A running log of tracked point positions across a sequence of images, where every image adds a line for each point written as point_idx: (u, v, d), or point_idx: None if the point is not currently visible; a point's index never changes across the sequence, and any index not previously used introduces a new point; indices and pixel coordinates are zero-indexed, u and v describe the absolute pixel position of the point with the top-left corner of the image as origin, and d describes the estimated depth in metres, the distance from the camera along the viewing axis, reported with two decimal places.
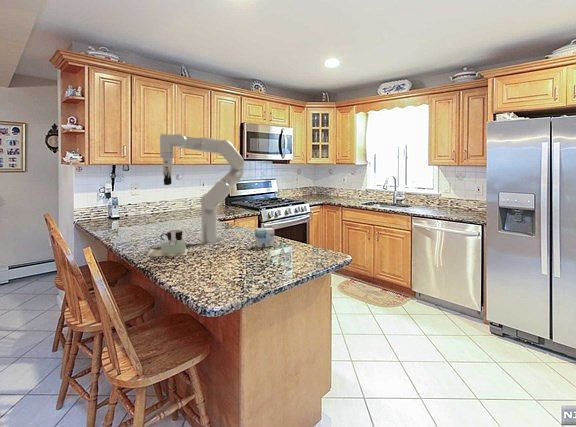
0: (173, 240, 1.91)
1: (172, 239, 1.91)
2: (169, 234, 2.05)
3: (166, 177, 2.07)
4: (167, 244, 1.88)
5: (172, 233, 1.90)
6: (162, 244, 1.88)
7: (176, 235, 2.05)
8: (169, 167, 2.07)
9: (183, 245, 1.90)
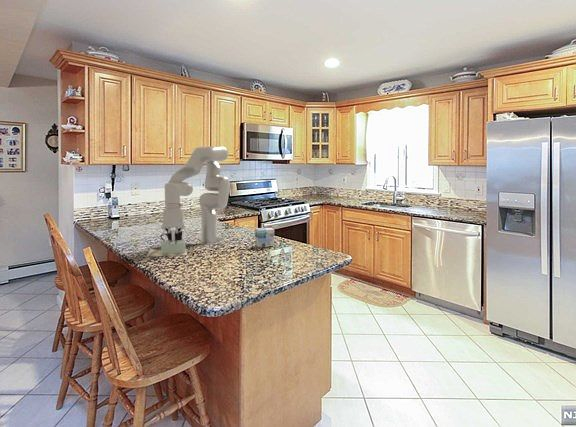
0: (173, 239, 1.91)
1: (172, 238, 1.91)
2: None
3: (177, 232, 1.92)
4: (167, 244, 1.88)
5: (172, 232, 1.90)
6: (162, 244, 1.88)
7: None
8: None
9: (183, 245, 1.90)
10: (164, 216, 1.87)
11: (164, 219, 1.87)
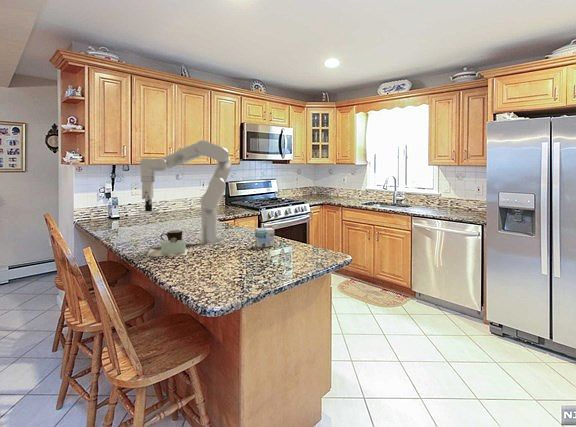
0: None
1: None
2: (169, 234, 2.05)
3: None
4: (167, 244, 1.88)
5: (150, 203, 2.10)
6: (162, 244, 1.88)
7: (176, 235, 2.05)
8: None
9: (183, 245, 1.90)
10: (150, 189, 2.06)
11: (150, 191, 2.06)
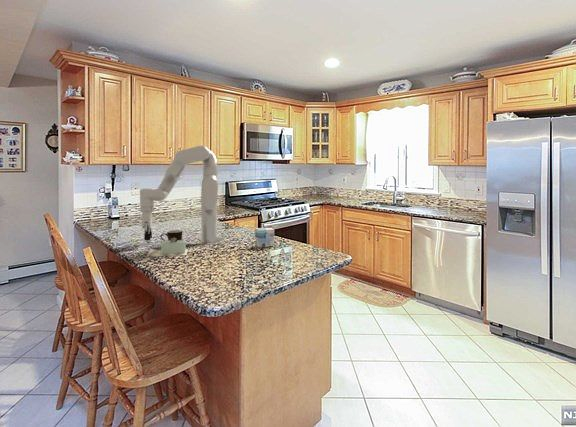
0: (150, 242, 2.15)
1: (150, 242, 2.15)
2: (169, 234, 2.05)
3: None
4: (167, 244, 1.88)
5: None
6: (162, 244, 1.88)
7: (176, 235, 2.05)
8: None
9: (183, 245, 1.90)
10: (150, 218, 2.10)
11: (150, 221, 2.10)
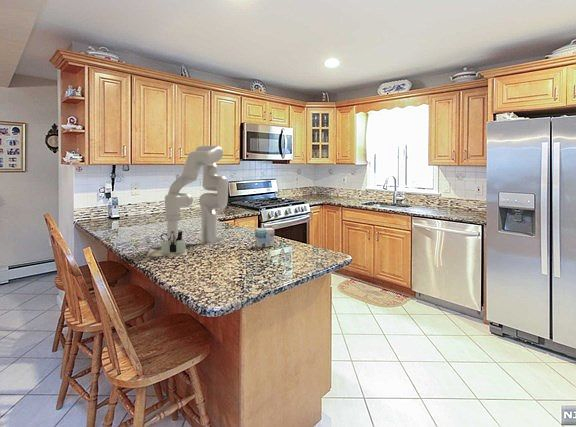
0: (150, 242, 2.15)
1: (150, 242, 2.15)
2: None
3: None
4: (167, 244, 1.88)
5: None
6: (162, 244, 1.88)
7: None
8: None
9: (183, 245, 1.90)
10: (176, 228, 1.87)
11: (176, 231, 1.88)
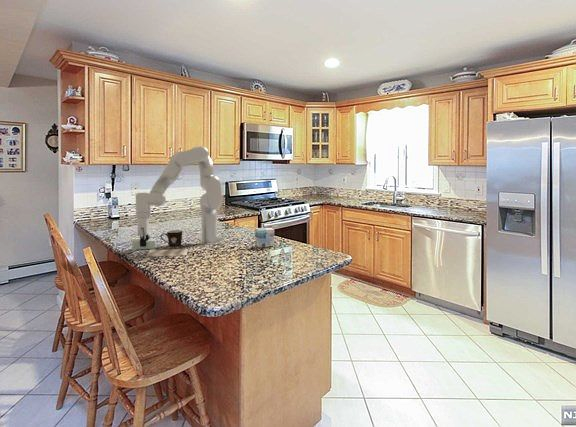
0: None
1: None
2: (169, 234, 2.05)
3: None
4: (138, 243, 1.99)
5: None
6: (133, 243, 1.98)
7: (176, 235, 2.05)
8: None
9: (153, 244, 2.00)
10: (146, 224, 1.97)
11: (146, 227, 1.97)
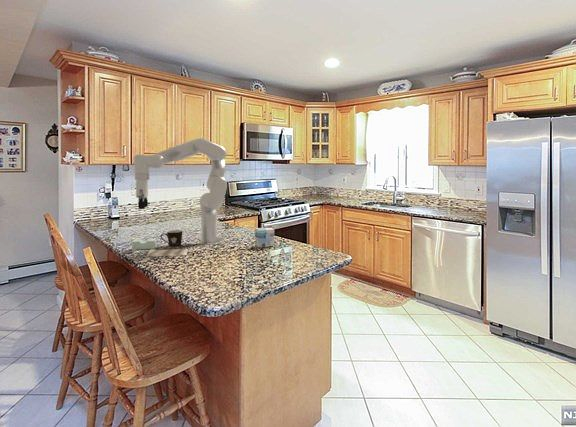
0: None
1: None
2: (169, 234, 2.05)
3: None
4: (138, 243, 1.99)
5: (149, 236, 2.14)
6: (133, 243, 1.98)
7: (176, 235, 2.05)
8: None
9: (153, 244, 2.00)
10: (145, 186, 1.95)
11: (145, 189, 1.95)
